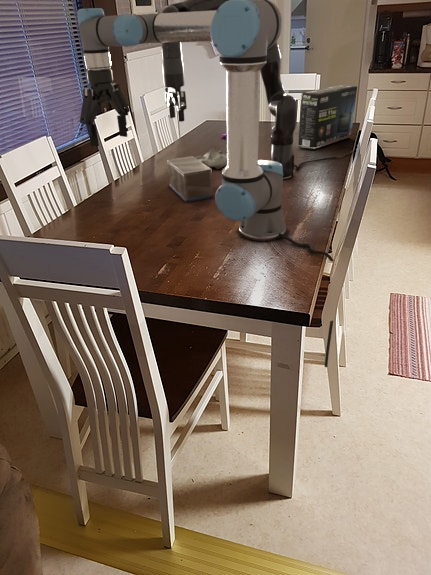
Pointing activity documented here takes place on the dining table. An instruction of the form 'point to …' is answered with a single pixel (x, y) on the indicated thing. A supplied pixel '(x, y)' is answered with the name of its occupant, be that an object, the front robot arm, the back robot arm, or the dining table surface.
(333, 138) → the router box
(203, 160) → the fossil
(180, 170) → the small box
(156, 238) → the dining table surface
